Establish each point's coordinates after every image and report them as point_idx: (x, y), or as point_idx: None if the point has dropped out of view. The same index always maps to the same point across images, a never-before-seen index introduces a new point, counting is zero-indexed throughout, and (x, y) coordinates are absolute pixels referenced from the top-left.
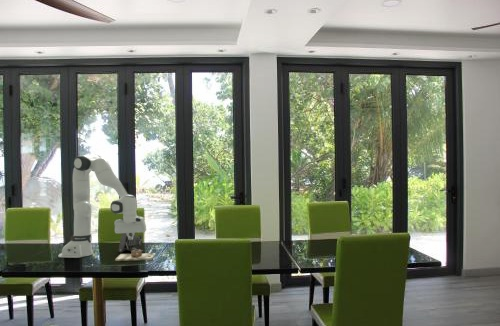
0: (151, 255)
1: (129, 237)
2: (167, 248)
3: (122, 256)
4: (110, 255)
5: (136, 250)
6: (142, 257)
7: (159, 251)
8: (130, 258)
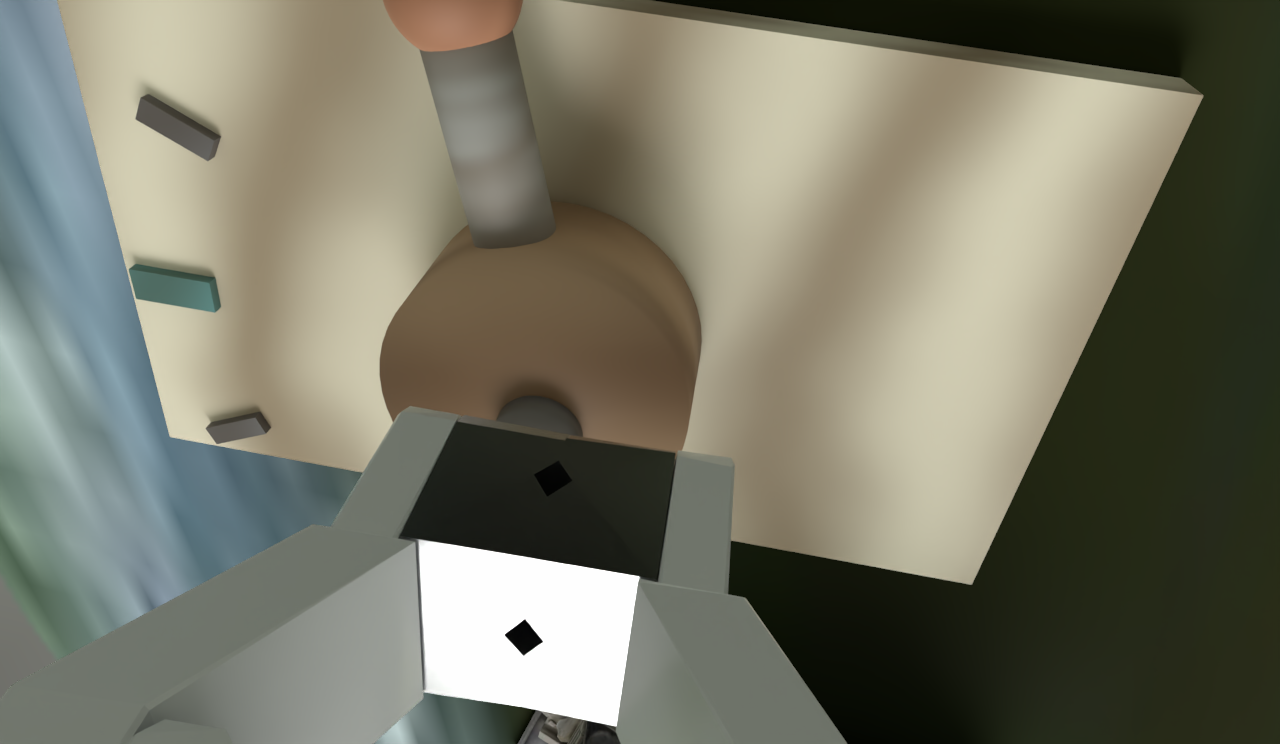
0: (176, 241)
1: (614, 545)
2: None
3: (942, 352)
4: (1190, 641)
5: (527, 403)
6: (355, 77)
7: None
8: (703, 37)
